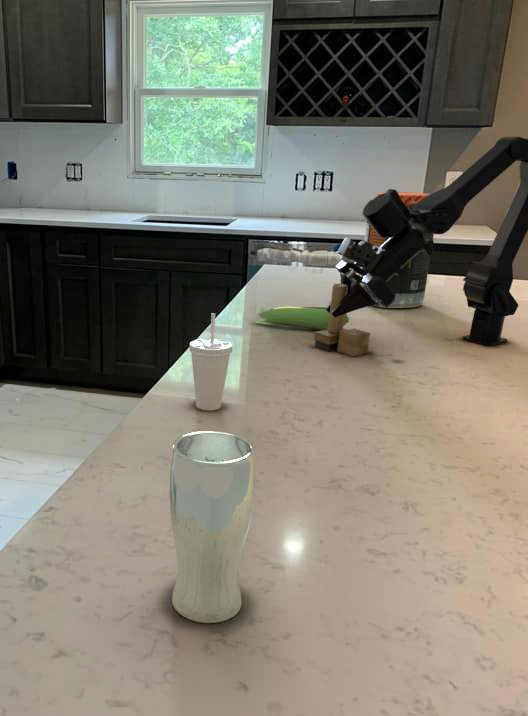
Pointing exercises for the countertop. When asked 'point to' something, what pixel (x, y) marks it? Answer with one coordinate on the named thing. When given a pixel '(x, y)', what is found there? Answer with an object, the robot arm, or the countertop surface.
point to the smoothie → (210, 369)
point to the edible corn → (298, 317)
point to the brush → (332, 322)
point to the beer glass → (210, 521)
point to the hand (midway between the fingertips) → (330, 313)
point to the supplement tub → (414, 272)
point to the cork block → (353, 342)
